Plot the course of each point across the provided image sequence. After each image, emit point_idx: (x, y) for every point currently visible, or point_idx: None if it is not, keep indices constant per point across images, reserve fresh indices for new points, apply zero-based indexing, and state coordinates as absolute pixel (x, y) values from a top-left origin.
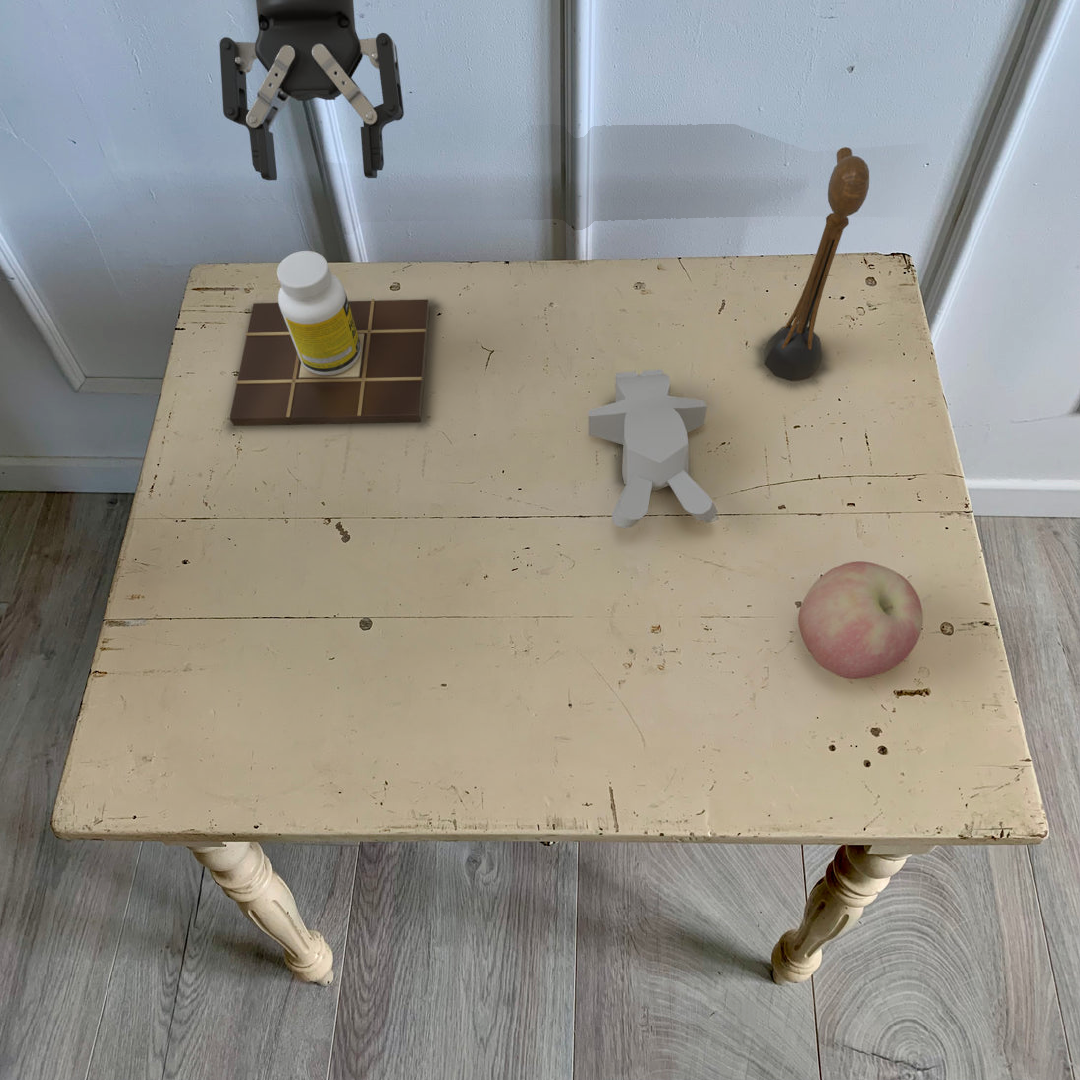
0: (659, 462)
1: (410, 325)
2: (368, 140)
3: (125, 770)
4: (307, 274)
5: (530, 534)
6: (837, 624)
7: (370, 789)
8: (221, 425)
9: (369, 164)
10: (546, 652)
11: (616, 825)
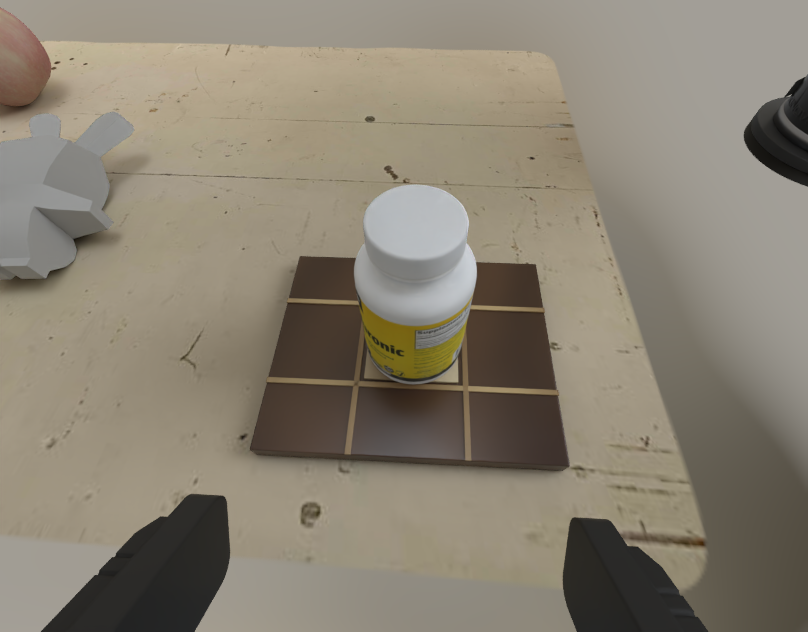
0: (47, 135)
1: (289, 392)
2: (114, 586)
3: (523, 66)
4: (403, 205)
5: (220, 164)
6: (3, 13)
7: (367, 57)
8: (547, 275)
9: (182, 511)
10: (238, 102)
11: (229, 45)
